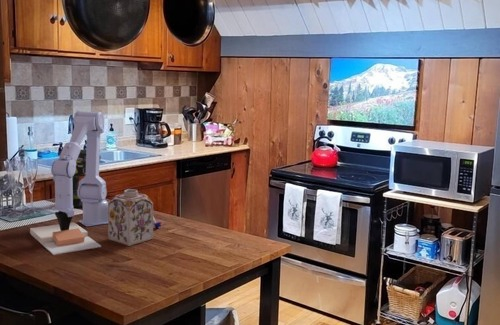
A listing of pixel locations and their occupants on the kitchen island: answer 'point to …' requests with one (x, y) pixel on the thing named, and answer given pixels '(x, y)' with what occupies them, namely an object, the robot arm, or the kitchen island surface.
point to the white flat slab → (51, 232)
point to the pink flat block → (68, 237)
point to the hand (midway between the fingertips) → (64, 232)
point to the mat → (71, 246)
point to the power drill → (75, 179)
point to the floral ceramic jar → (130, 218)
